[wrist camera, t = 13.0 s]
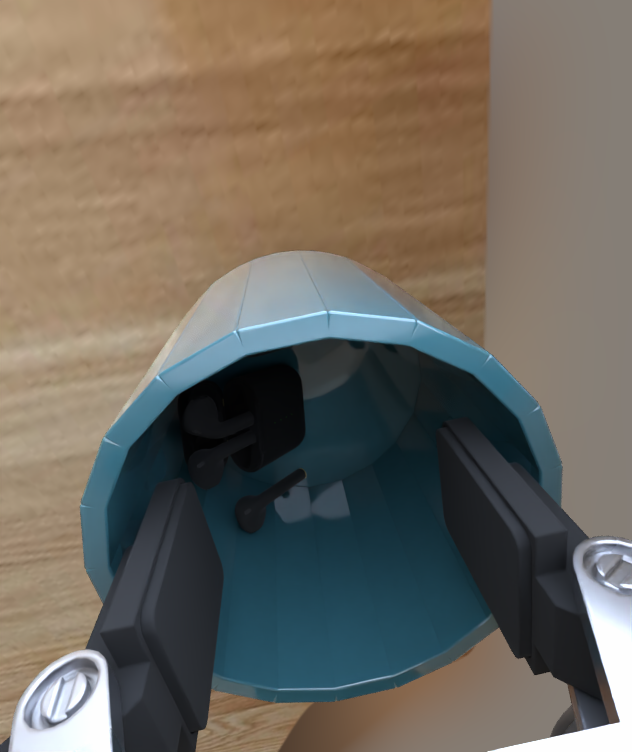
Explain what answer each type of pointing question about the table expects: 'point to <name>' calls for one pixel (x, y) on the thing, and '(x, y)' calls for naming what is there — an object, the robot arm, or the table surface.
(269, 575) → the tumbler
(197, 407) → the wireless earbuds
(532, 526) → the robot arm
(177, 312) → the table surface
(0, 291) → the table surface
